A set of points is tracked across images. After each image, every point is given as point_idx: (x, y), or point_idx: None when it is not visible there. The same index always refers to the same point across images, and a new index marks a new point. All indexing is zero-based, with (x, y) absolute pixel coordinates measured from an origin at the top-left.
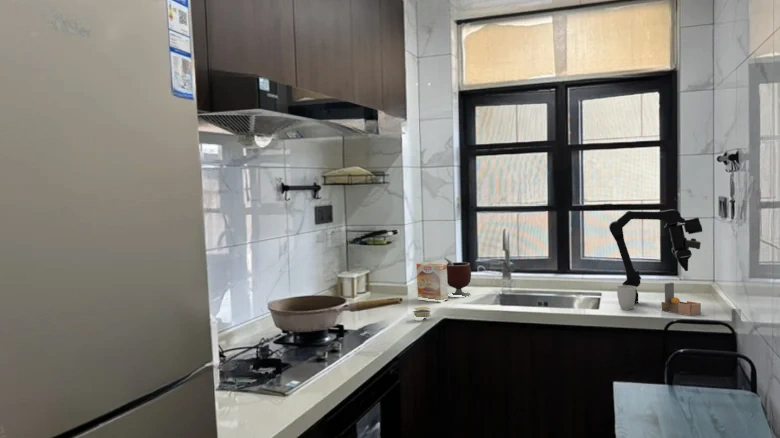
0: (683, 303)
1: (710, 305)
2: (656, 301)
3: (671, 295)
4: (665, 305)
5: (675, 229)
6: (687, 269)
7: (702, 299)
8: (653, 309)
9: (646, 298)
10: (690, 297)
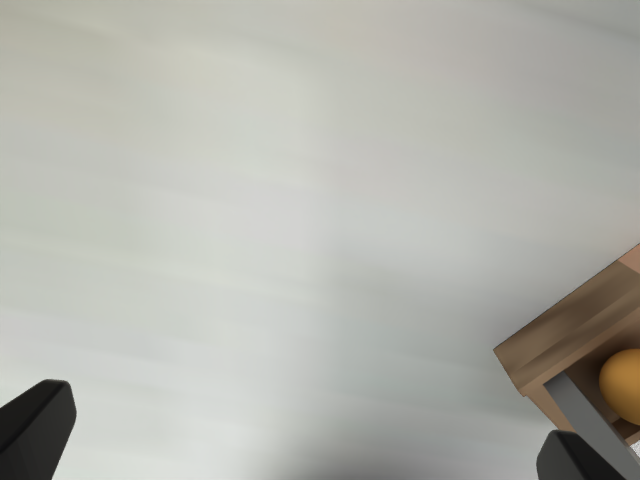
0: (633, 312)
1: (397, 3)
2: (238, 395)
3: (621, 439)
4: None
5: None
6: (597, 463)
7: (102, 3)
8: (523, 460)
9: (128, 437)
10: (19, 97)
